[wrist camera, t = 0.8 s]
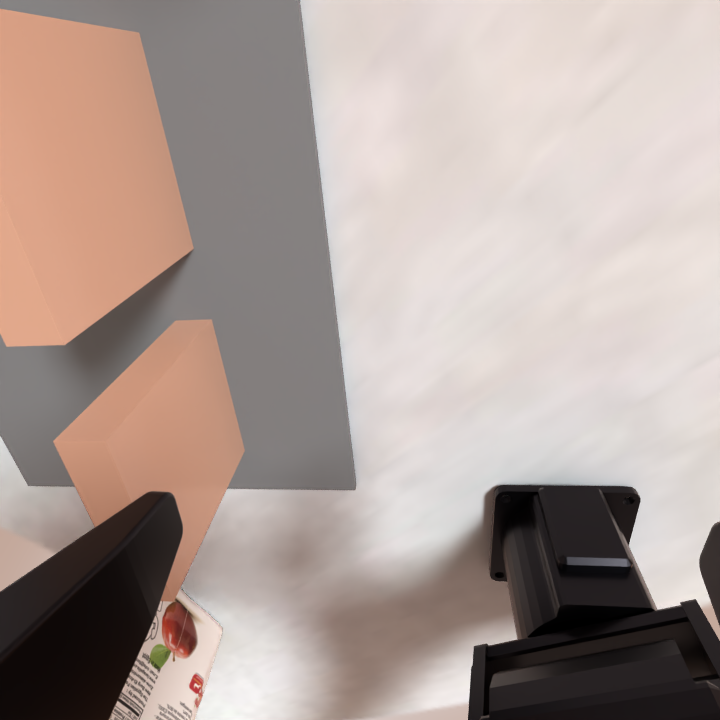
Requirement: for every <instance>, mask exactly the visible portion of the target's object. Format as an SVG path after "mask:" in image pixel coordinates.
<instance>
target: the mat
mask: <svg viewBox="0 0 720 720" xmlns="http://www.w3.org/2000/svg"><path fill="white" fill-rule="evenodd" d="M0 9H5V10H11V11H16V12H22V13H28V14H34V15H40V16H45V17H51V18H57V19H63V20H69V21H74V22H80V23H86V24H92V25H98V26H103V27H109V28H115V29H121V30H127V31H132V32H138V33H139V34H140V38H141V42H142V46H143V49H144V53H145V57H146V61H147V65H148V69H149V73H150V77H151V81H152V85H153V89H154V93H155V97H156V101H157V105H158V109H159V113H160V117H161V121H162V125H163V129H164V133H165V137H166V140H167V144H168V148H169V152H170V156H171V160H172V164H173V168H174V172H175V176H176V180H177V184H178V188H179V192H180V196H181V200H182V204H183V208H184V212H185V216H186V220H187V224H188V228H189V232H190V235H191V239H192V243H193V247H194V249H193V250H192V251H190V252H189V253H188V254H186V255H185V256H183V257H182V258H181V259H179V260H178V261H177V262H175V263H174V264H173V265H171V266H170V267H169V268H167V269H166V270H165V271H163V272H162V273H161V274H159V275H158V276H157V277H155V278H154V279H153V280H151V281H150V282H149V283H147V284H146V285H145V286H143V287H142V288H141V289H139V290H138V291H137V292H135V293H134V294H133V295H131V296H130V297H129V298H127V299H126V300H125V301H123V302H122V303H121V304H119V305H118V306H116V307H115V308H114V309H112V310H111V311H110V312H108V313H107V314H106V315H104V316H103V317H102V318H100V319H99V320H98V321H96V322H95V323H94V324H92V325H91V326H90V327H88V328H87V329H86V330H84V331H83V332H82V333H80V334H79V335H78V336H76V337H75V338H74V339H72V340H71V341H70V342H68V343H67V344H66V345H47V346H12V347H6V345H5V342H4V340H3V338H2V336H1V334H0V436H1V437H2V439H3V441H4V443H5V445H6V446H7V448H8V450H9V452H10V454H11V455H12V457H13V459H14V461H15V463H16V465H17V466H18V468H19V470H20V472H21V474H22V475H23V477H24V479H25V481H26V483H27V484H28V486H75V485H74V483H73V481H72V479H71V477H70V475H69V473H68V471H67V469H66V467H65V465H64V463H63V461H62V459H61V457H60V455H59V453H58V451H57V449H56V447H55V444H54V442H53V441H54V440H55V439H56V438H57V437H58V436H59V435H60V434H61V433H62V432H63V431H64V430H65V429H66V428H67V427H68V426H69V425H70V424H71V423H72V422H73V421H74V420H75V419H76V418H77V417H78V416H79V415H80V414H81V413H82V412H83V411H84V410H85V409H86V408H87V407H88V406H89V405H90V404H91V403H92V402H93V401H94V400H95V399H96V398H97V397H99V396H100V395H101V394H102V393H103V392H104V391H105V390H106V389H107V388H108V387H109V386H110V385H111V384H112V383H113V382H114V381H115V380H116V379H117V378H118V377H119V376H120V375H121V374H122V373H123V372H124V371H125V370H126V369H127V368H128V367H129V366H130V365H131V364H132V363H133V362H134V361H135V360H136V359H137V358H138V357H139V356H140V355H141V354H142V353H143V352H144V351H145V350H146V349H147V348H148V347H149V346H150V345H151V344H152V343H153V342H154V341H155V340H156V339H157V338H158V337H159V336H160V335H161V334H162V333H163V332H164V331H165V330H167V329H168V328H169V327H170V326H171V325H172V324H173V323H174V322H175V321H179V320H208V319H212V323H213V326H214V330H215V334H216V338H217V342H218V346H219V350H220V354H221V358H222V362H223V366H224V370H225V374H226V378H227V382H228V386H229V390H230V394H231V398H232V402H233V406H234V410H235V414H236V417H237V421H238V425H239V429H240V433H241V437H242V441H243V445H244V449H245V451H244V453H243V456H242V458H241V460H240V462H239V464H238V466H237V468H236V470H235V473H234V475H233V477H232V479H231V481H230V483H229V485H228V487H227V488H231V489H307V490H355V489H356V478H355V470H354V461H353V452H352V444H351V435H350V427H349V418H348V410H347V401H346V392H345V384H344V375H343V367H342V358H341V349H340V341H339V332H338V324H337V315H336V307H335V298H334V289H333V281H332V272H331V264H330V255H329V247H328V238H327V229H326V221H325V212H324V204H323V195H322V187H321V178H320V169H319V161H318V152H317V144H316V135H315V127H314V118H313V109H312V101H311V92H310V84H309V75H308V66H307V58H306V49H305V41H304V32H303V24H302V15H301V6H300V0H0Z"/></svg>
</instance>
